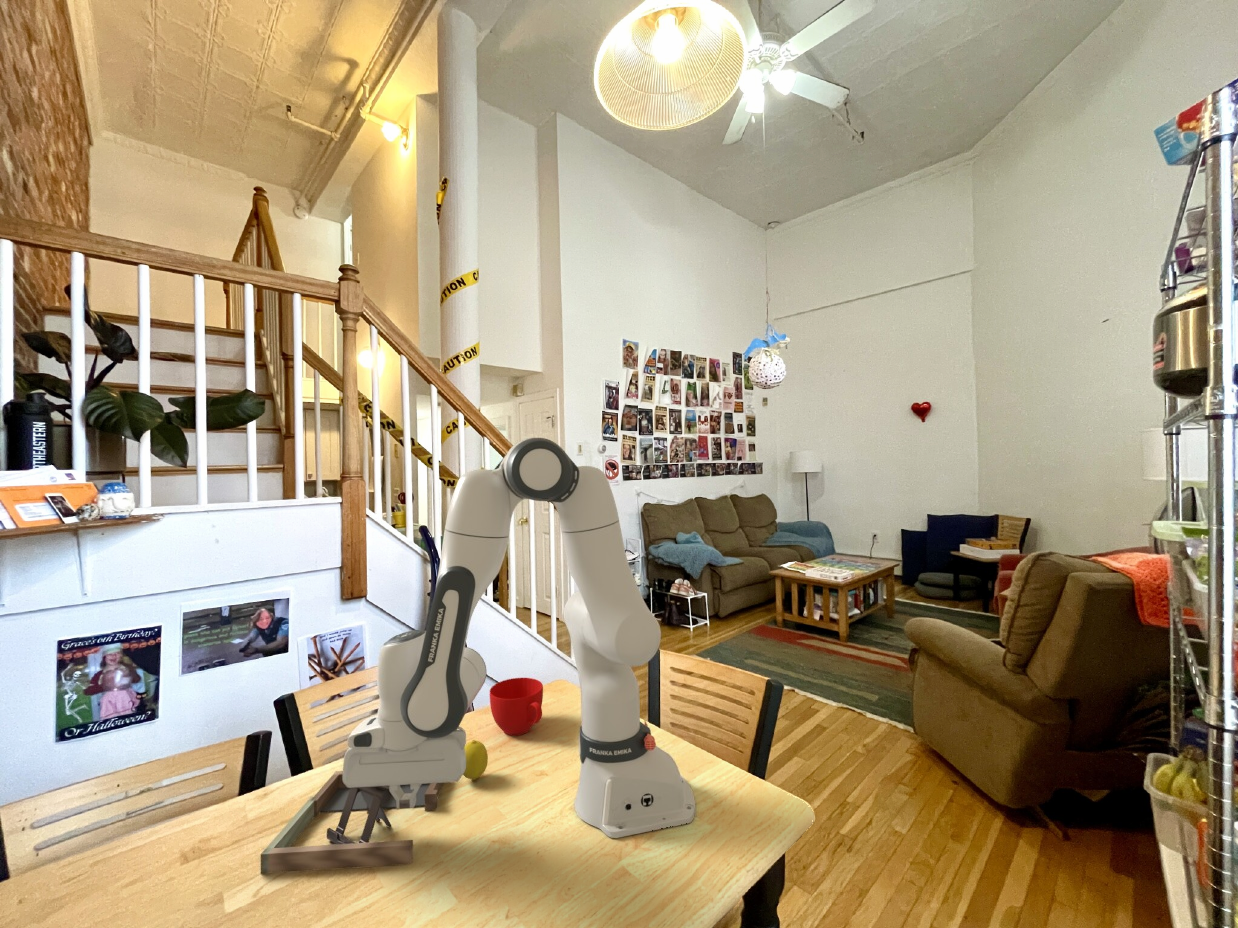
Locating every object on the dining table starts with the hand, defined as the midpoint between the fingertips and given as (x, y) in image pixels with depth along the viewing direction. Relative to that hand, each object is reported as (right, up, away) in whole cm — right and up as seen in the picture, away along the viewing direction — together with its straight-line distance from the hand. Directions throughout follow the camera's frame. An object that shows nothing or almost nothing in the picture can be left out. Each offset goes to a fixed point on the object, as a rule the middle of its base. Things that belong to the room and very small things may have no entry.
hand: (406, 806), depth 88 cm
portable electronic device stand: (-7, -5, 0) cm, 9 cm away
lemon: (+7, -5, +15) cm, 18 cm away
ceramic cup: (+13, -6, +35) cm, 38 cm away
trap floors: (-9, -5, +10) cm, 15 cm away
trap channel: (-9, -5, +4) cm, 11 cm away
